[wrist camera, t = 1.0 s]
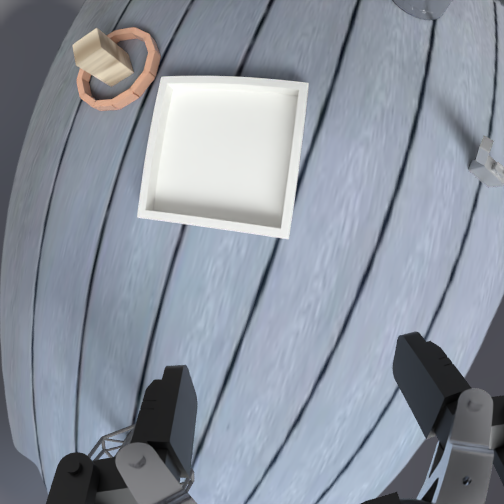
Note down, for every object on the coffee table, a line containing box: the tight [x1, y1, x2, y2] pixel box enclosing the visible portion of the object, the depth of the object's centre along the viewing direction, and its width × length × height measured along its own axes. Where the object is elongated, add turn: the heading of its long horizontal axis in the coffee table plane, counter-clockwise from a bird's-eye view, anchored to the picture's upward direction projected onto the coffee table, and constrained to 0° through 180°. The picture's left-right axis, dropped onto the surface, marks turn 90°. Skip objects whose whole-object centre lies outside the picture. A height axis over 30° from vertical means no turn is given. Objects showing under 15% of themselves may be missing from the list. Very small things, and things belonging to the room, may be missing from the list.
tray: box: [137, 76, 309, 239], centre depth 36 cm, size 18×18×3 cm
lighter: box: [468, 136, 504, 188], centre depth 29 cm, size 7×2×8 cm, turn 60°
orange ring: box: [77, 27, 161, 111], centre depth 37 cm, size 13×13×2 cm
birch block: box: [73, 28, 134, 87], centre depth 34 cm, size 4×4×9 cm
